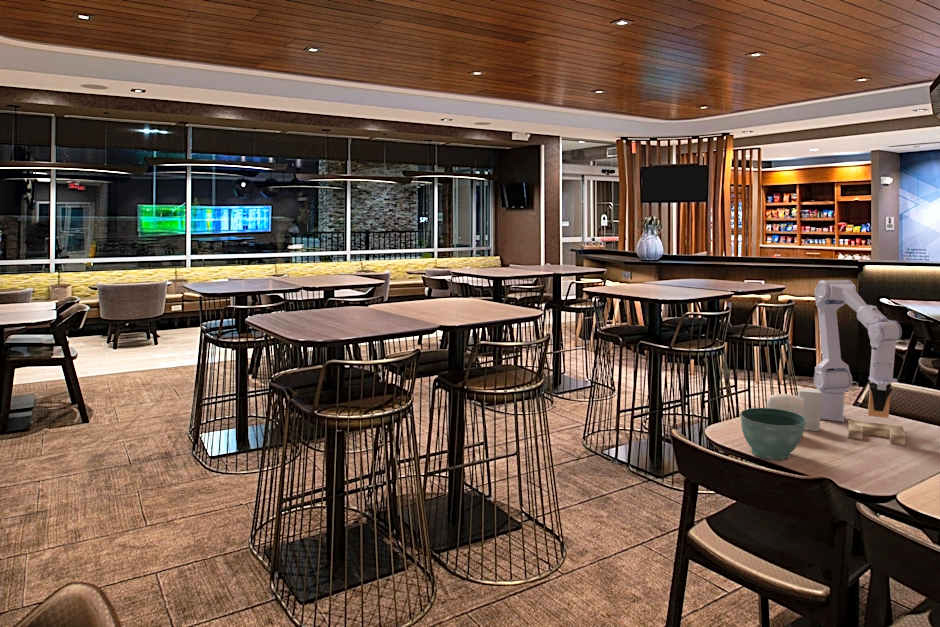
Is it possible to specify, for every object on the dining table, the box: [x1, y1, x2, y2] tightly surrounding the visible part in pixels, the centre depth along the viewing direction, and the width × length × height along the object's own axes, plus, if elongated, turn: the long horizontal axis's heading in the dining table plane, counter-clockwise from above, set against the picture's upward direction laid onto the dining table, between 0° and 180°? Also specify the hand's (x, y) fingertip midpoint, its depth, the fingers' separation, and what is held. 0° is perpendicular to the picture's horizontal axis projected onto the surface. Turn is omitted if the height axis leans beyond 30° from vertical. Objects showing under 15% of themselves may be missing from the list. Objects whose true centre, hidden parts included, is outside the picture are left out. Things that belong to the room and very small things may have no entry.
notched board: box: [847, 419, 907, 446], centre depth 203 cm, size 14×11×2 cm
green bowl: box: [740, 407, 806, 461], centre depth 187 cm, size 16×16×11 cm
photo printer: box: [766, 393, 805, 417], centre depth 204 cm, size 10×4×12 cm, turn 73°
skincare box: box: [797, 388, 822, 432], centre depth 210 cm, size 6×4×12 cm
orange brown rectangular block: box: [867, 389, 891, 419], centre depth 200 cm, size 5×3×7 cm, turn 62°
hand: (878, 409), depth 200 cm, fingers closed on orange brown rectangular block, 3 cm apart
